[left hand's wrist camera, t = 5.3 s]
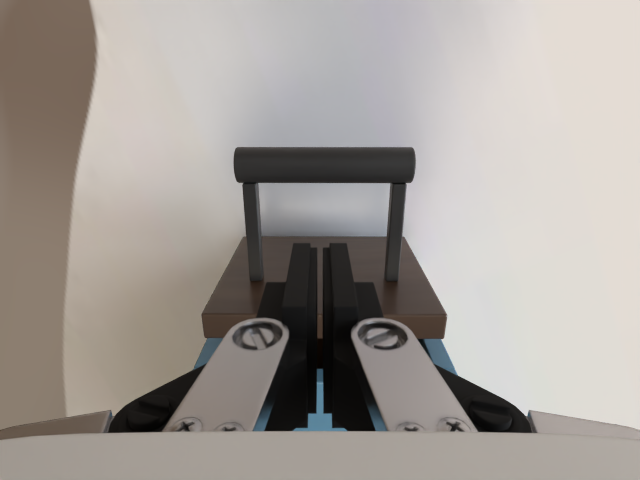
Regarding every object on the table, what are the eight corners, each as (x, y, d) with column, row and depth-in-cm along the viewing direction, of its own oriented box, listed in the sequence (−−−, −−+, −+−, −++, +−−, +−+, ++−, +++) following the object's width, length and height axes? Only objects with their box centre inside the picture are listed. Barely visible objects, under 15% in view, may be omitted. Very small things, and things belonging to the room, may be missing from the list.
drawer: (234, 132, 21) (179, 160, 13) (413, 133, 21) (470, 160, 13) (259, 443, 30) (235, 576, 22) (386, 444, 30) (410, 578, 22)
